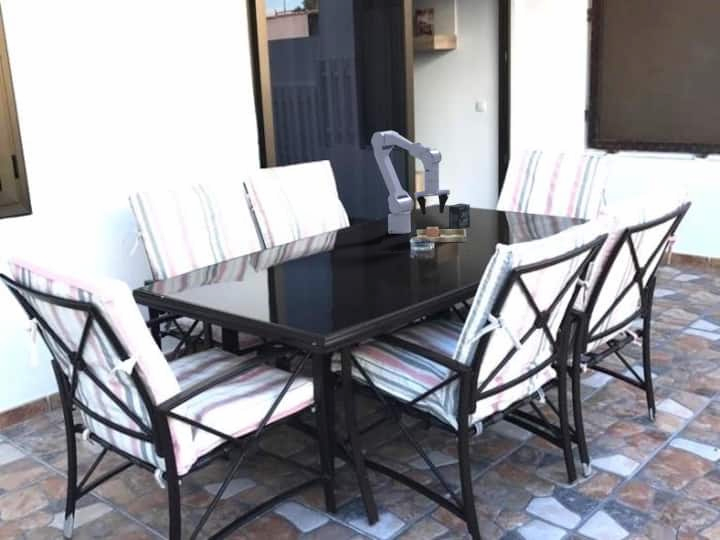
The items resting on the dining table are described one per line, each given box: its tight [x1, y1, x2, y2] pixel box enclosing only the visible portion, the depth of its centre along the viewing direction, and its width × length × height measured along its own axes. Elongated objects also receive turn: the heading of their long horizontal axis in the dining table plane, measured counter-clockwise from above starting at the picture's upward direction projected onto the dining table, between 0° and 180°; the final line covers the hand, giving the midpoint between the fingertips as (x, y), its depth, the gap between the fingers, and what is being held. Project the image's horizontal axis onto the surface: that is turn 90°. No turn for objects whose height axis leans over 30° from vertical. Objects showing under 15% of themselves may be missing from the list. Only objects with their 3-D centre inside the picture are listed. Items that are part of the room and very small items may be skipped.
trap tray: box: [413, 228, 467, 243], centre depth 295 cm, size 20×16×3 cm
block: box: [426, 226, 440, 237], centre depth 295 cm, size 4×4×4 cm
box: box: [448, 203, 471, 229], centre depth 315 cm, size 8×6×11 cm
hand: (432, 213), depth 298 cm, fingers open, 7 cm apart
